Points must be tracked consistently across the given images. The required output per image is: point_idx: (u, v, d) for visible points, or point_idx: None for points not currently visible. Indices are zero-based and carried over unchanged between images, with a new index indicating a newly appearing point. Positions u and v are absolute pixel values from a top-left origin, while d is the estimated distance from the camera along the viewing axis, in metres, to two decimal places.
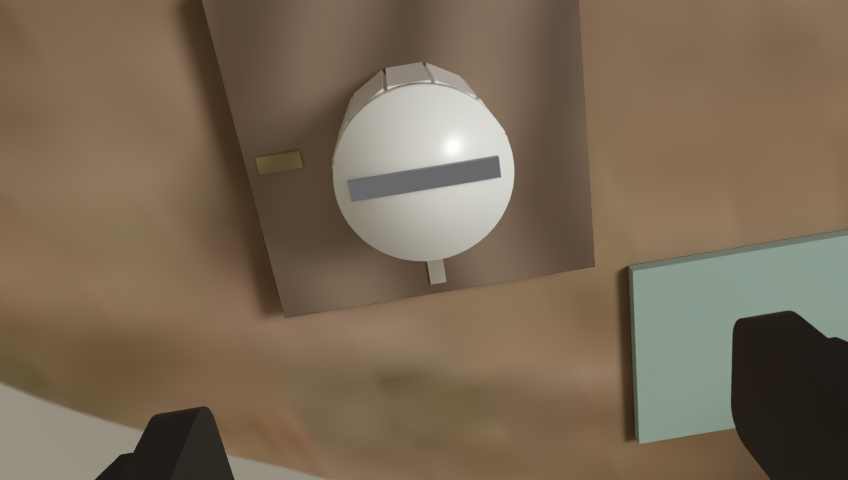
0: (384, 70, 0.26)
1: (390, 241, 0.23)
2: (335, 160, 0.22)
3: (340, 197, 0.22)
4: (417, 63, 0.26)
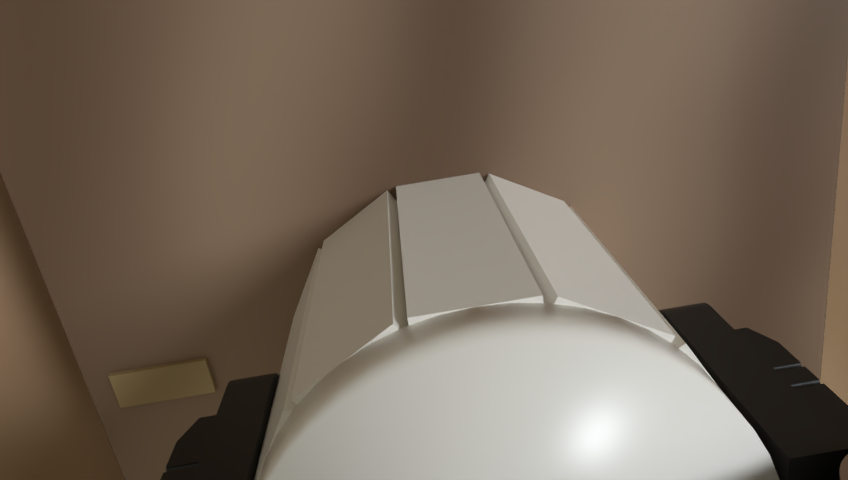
0: (393, 191, 0.11)
1: None
2: None
3: None
4: (470, 178, 0.11)
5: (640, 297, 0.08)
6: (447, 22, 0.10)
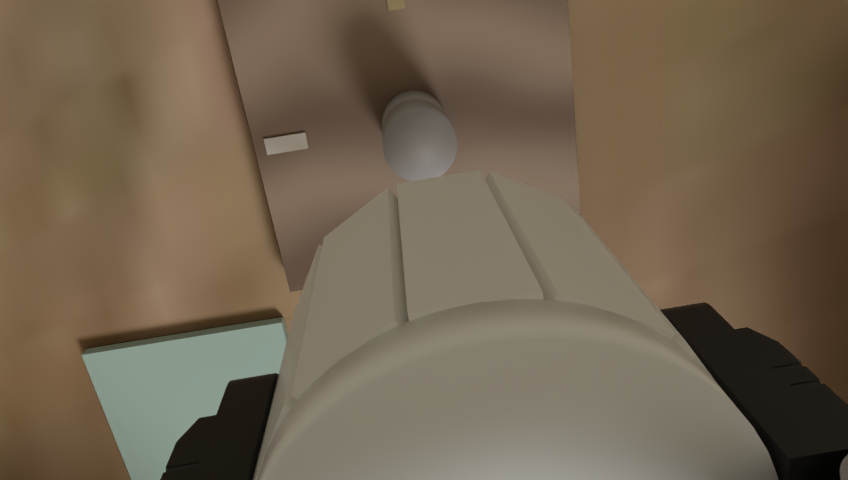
0: (478, 94, 0.29)
1: None
2: None
3: None
4: (471, 175, 0.11)
5: (640, 294, 0.08)
6: (540, 114, 0.29)
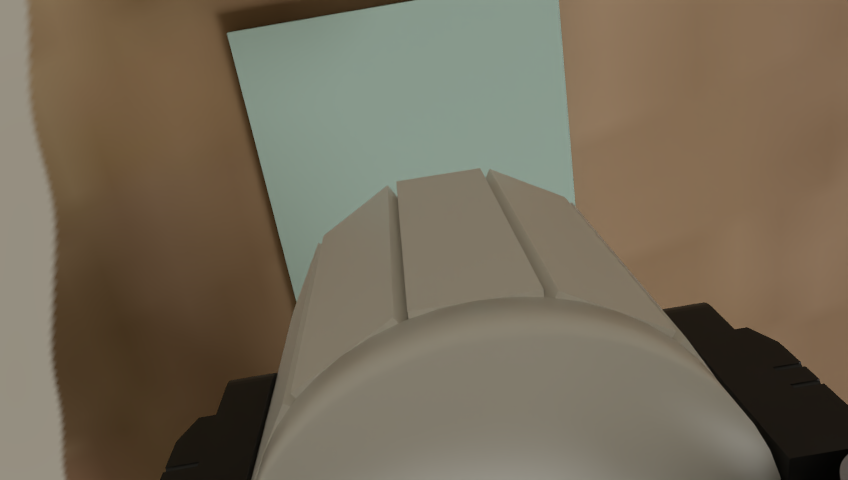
0: None
1: None
2: None
3: None
4: (471, 173, 0.11)
5: (641, 292, 0.08)
6: None
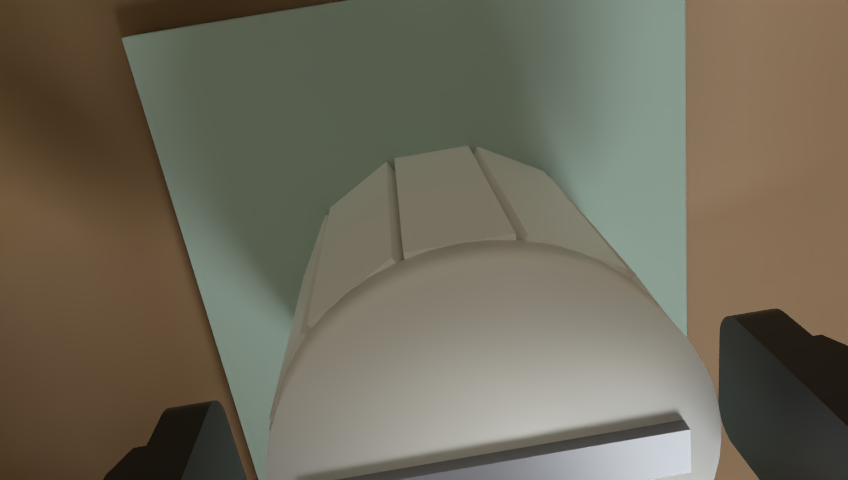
0: None
1: None
2: (271, 443, 0.08)
3: None
4: (460, 150, 0.13)
5: (601, 241, 0.10)
6: None
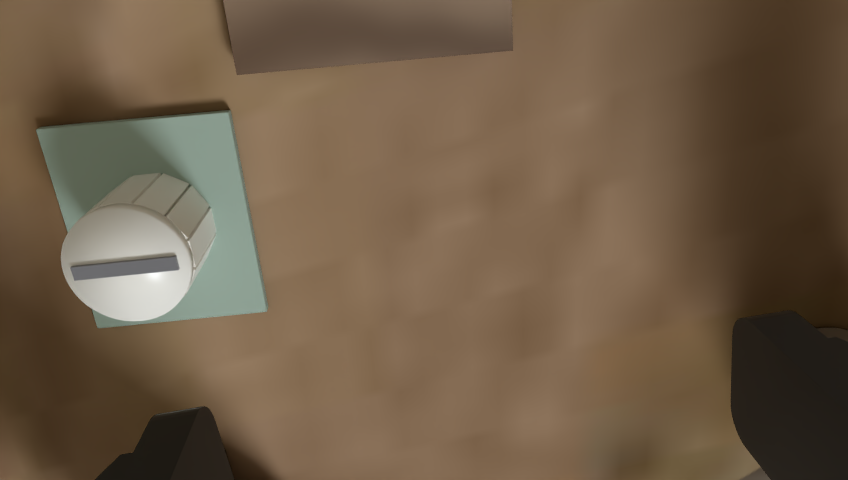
0: None
1: (106, 307, 0.33)
2: (62, 252, 0.32)
3: (67, 276, 0.32)
4: (155, 174, 0.36)
5: (168, 206, 0.33)
6: None
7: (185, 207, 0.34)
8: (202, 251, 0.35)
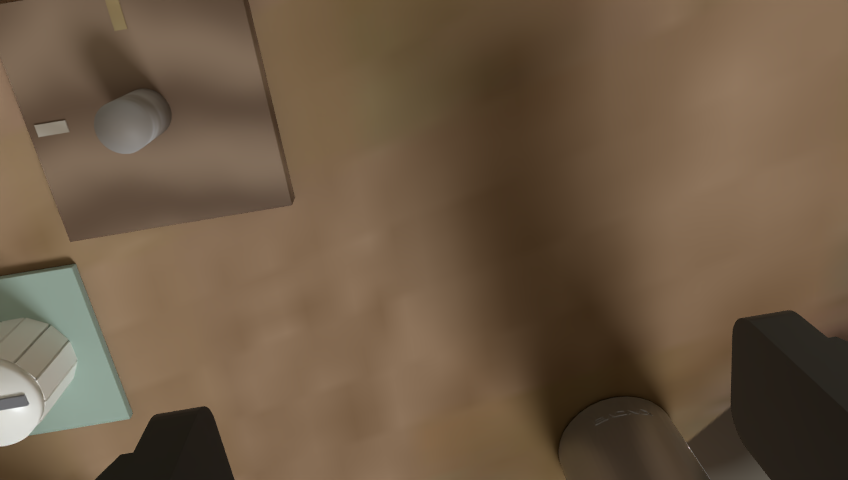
0: (192, 91, 0.39)
1: None
2: None
3: None
4: (19, 319, 0.44)
5: (19, 353, 0.41)
6: (241, 106, 0.39)
7: (39, 349, 0.42)
8: (56, 383, 0.43)
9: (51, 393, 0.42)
